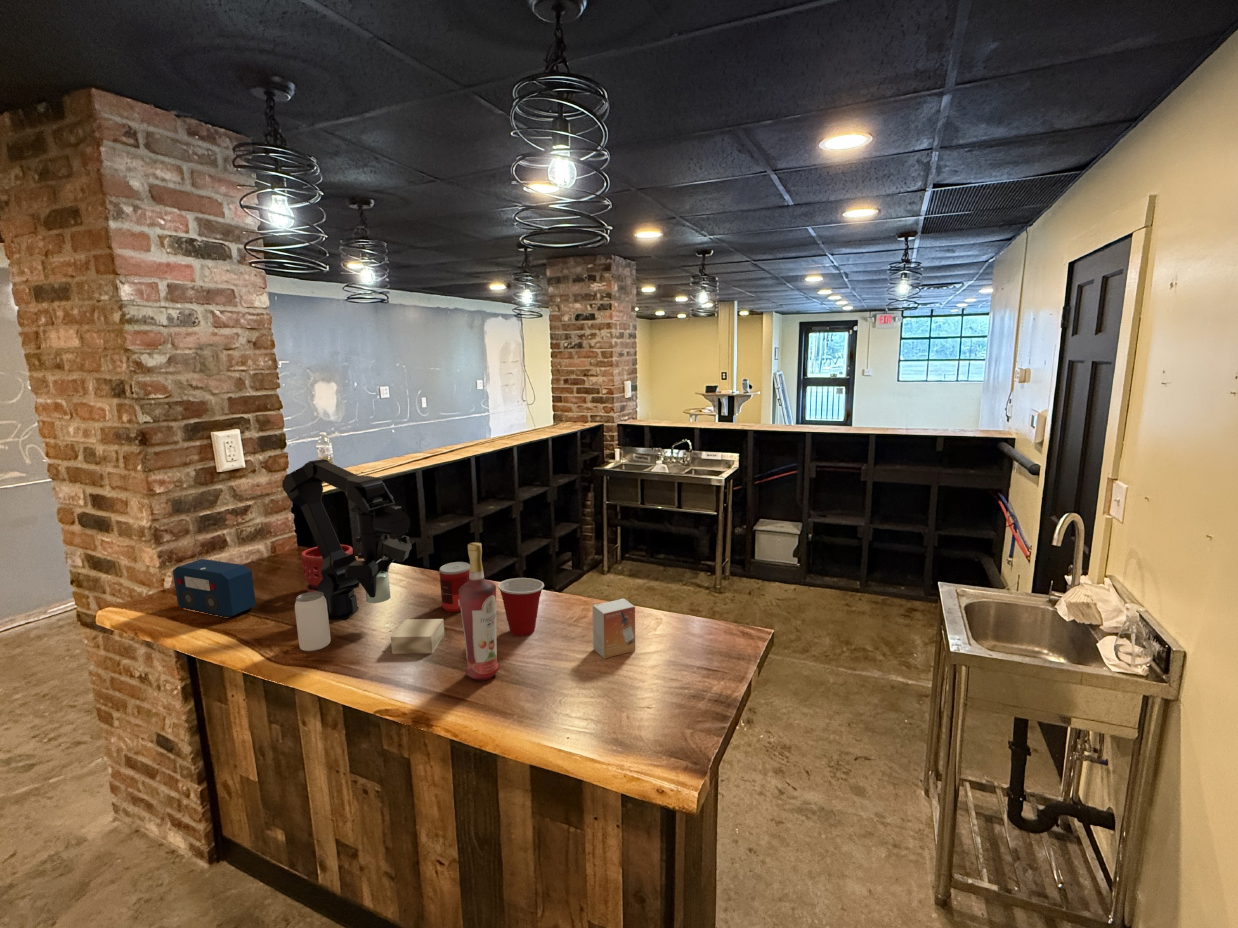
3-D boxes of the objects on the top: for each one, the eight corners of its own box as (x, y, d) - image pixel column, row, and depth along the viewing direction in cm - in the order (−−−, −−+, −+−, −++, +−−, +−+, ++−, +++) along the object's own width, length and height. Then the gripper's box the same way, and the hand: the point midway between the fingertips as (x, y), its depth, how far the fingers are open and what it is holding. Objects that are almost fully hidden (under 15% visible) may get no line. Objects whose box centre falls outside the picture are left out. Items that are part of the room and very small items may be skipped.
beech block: (392, 653, 132) (390, 636, 132) (406, 635, 141) (405, 619, 140) (432, 653, 132) (431, 636, 131) (444, 634, 141) (443, 618, 140)
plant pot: (343, 598, 164) (338, 556, 162) (296, 599, 164) (291, 557, 162) (363, 581, 177) (360, 542, 175) (320, 581, 177) (315, 542, 175)
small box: (603, 659, 128) (602, 613, 126) (592, 648, 133) (591, 604, 131) (636, 650, 131) (635, 606, 130) (624, 640, 136) (623, 597, 135)
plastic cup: (555, 629, 142) (553, 582, 140) (519, 645, 135) (516, 595, 133) (527, 617, 150) (525, 571, 148) (491, 631, 142) (488, 584, 140)
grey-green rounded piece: (362, 603, 143) (360, 579, 142) (372, 594, 148) (369, 571, 147) (385, 602, 143) (382, 579, 142) (394, 594, 148) (391, 571, 147)
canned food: (476, 600, 161) (474, 561, 159) (466, 612, 153) (463, 572, 151) (449, 599, 162) (446, 561, 160) (437, 612, 154) (434, 571, 152)
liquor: (483, 688, 118) (474, 552, 113) (457, 678, 121) (447, 546, 117) (508, 671, 124) (501, 542, 119) (482, 662, 128) (474, 537, 123)
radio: (173, 611, 158) (161, 538, 154) (205, 598, 166) (195, 529, 162) (228, 622, 150) (217, 546, 147) (259, 608, 158) (250, 536, 155)
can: (337, 640, 139) (332, 592, 137) (315, 653, 133) (309, 603, 131) (315, 637, 141) (310, 589, 139) (293, 649, 135) (286, 599, 133)
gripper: (390, 542, 133) (396, 607, 136) (418, 519, 151) (423, 578, 154) (340, 542, 133) (347, 608, 136) (375, 520, 152) (380, 578, 154)
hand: (377, 592), depth 145 cm, fingers closed on grey-green rounded piece, 5 cm apart
